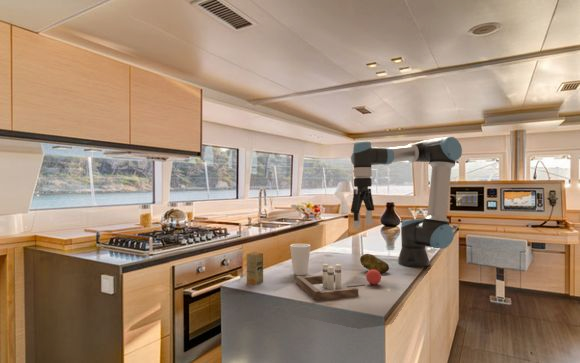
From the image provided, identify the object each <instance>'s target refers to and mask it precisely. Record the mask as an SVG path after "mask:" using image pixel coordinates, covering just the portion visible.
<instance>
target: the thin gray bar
mask: <svg viewBox="0 0 580 363" xmlns="http://www.w3.org/2000/svg"><path fill="white" fill-rule="evenodd" d="M362 286H366V284H364V283H363V284H355V285H347V286H346V288H355V287H362Z"/></svg>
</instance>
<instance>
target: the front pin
mask: <svg viewBox="0 0 580 363" xmlns="http://www.w3.org/2000/svg"><path fill="white" fill-rule="evenodd" d="M334 275H335V281H334V289H335V290H338V289H342V264H340V263H339V264H338V263H337V264H335V265H334Z"/></svg>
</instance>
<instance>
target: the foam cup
mask: <svg viewBox="0 0 580 363" xmlns="http://www.w3.org/2000/svg"><path fill="white" fill-rule="evenodd" d="M289 251H290V257H291V258H290V259H291V264H292V272H293V274H294V275H296V276H305V275H307V274H308V270H309V262H310V256H311V255H310V254H311V244H308V243H292V244H290V245H289Z"/></svg>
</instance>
